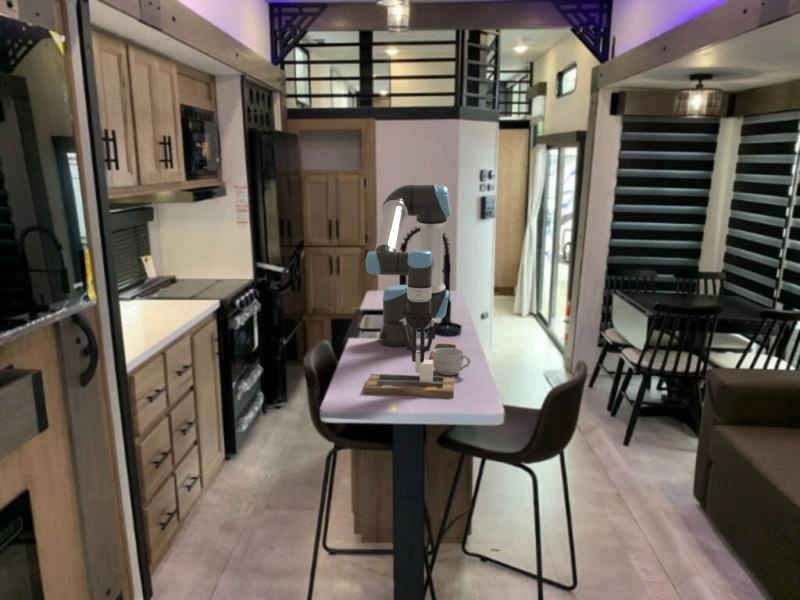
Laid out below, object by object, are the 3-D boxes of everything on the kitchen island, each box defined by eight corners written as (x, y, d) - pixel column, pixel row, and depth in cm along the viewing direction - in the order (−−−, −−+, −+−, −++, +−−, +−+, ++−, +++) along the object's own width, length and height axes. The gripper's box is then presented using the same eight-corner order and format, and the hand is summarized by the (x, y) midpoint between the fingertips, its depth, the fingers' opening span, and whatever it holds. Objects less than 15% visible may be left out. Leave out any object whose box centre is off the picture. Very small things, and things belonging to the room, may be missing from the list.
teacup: (426, 372, 206) (426, 350, 204) (446, 365, 213) (447, 344, 212) (456, 382, 196) (457, 359, 195) (476, 375, 204) (477, 352, 202)
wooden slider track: (370, 379, 198) (370, 370, 198) (454, 383, 196) (454, 373, 195) (364, 393, 186) (364, 383, 185) (453, 397, 183) (453, 387, 182)
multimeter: (457, 351, 232) (457, 342, 231) (453, 365, 214) (454, 356, 214) (435, 350, 233) (435, 341, 232) (430, 364, 216) (430, 355, 215)
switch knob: (420, 379, 192) (420, 359, 190) (432, 379, 191) (433, 359, 190) (419, 383, 188) (419, 363, 186) (432, 384, 187) (432, 364, 186)
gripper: (397, 301, 181) (396, 374, 186) (439, 302, 180) (437, 376, 185) (399, 296, 188) (399, 366, 193) (440, 297, 187) (438, 368, 192)
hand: (417, 371), depth 189 cm, fingers closed
